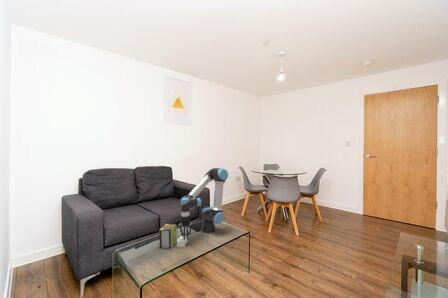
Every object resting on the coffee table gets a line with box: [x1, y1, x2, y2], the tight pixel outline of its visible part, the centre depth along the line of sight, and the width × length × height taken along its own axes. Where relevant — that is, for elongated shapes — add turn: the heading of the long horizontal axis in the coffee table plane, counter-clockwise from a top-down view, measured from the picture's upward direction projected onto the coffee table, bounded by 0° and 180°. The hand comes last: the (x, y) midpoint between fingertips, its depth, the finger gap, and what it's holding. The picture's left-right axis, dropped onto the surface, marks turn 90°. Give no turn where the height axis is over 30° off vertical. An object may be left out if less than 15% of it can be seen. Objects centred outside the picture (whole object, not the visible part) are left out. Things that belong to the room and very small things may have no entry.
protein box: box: [158, 223, 178, 249], centre depth 183 cm, size 10×15×16 cm
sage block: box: [176, 237, 186, 248], centre depth 181 cm, size 7×7×5 cm
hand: (186, 242), depth 181 cm, fingers closed
